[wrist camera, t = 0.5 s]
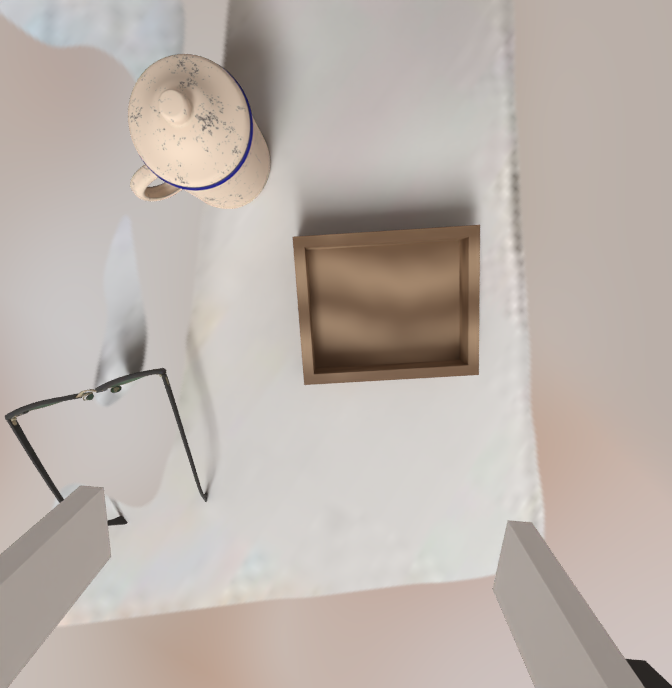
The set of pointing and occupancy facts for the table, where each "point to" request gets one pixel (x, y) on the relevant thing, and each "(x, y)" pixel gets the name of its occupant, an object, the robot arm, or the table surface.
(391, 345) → the walnut tray
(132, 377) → the black eyeglasses
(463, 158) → the table surface
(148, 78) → the teacup with lid
